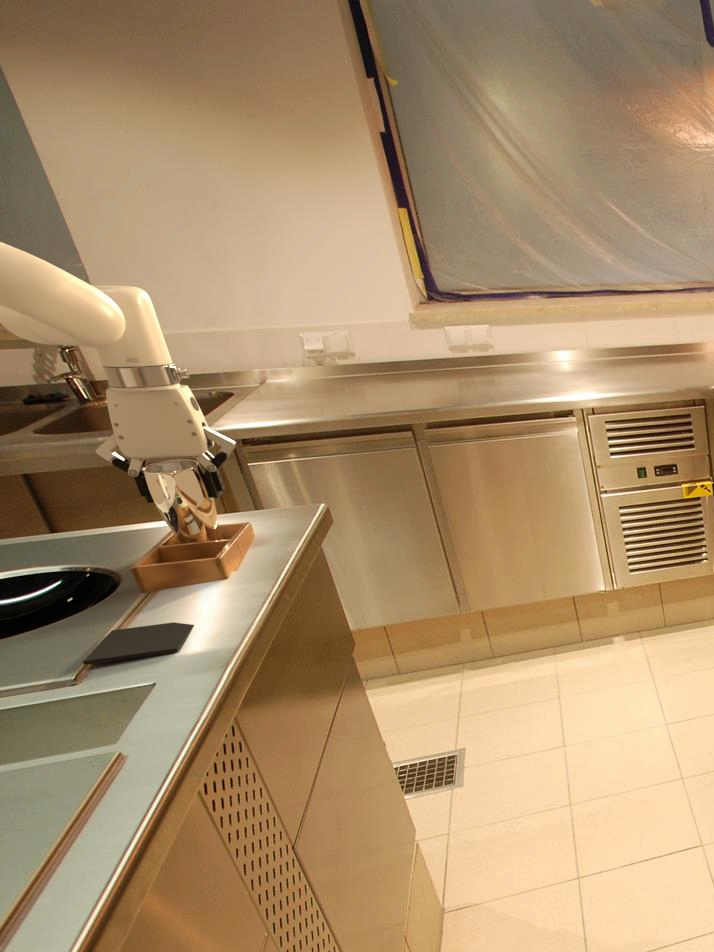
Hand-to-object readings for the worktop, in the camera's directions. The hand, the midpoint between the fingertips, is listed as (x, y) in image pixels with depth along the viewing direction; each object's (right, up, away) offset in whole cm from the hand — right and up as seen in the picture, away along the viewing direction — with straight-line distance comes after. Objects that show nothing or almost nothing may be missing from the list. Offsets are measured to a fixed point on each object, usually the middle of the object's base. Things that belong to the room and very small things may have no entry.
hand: (185, 497), depth 128 cm
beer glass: (0, -9, +4) cm, 10 cm away
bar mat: (+14, -22, -21) cm, 33 cm away
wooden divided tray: (+2, -12, +1) cm, 12 cm away
